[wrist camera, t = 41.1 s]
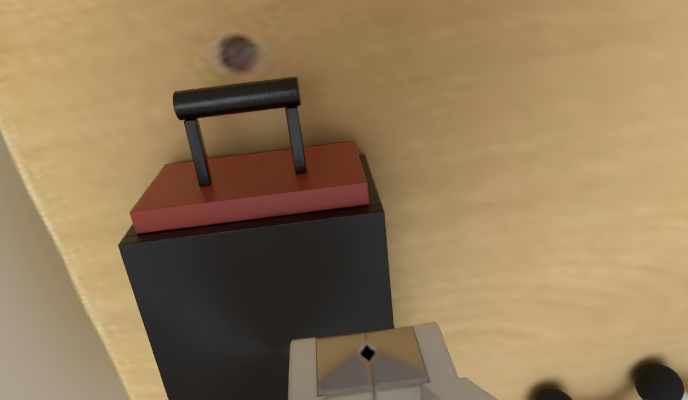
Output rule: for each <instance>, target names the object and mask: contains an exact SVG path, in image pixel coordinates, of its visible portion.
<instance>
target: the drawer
mask: <svg viewBox="0 0 688 400" xmlns="http://www.w3.org/2000/svg"><path fill="white" fill-rule="evenodd" d="M173 105H174V110H175V113H176V116H177V117H178V119H179V120H185V121H184V124H185V128H186V133H187V137H188V141H189V145H190V149H191V153H192V158H193V161H189V162H181V163H173V164H166V165H165V166H164V167H163V168H162V170H161V171H160V172H159V174H158V175H157V176H156V178H155V179H154V180H153V182H152V183H151V185H150V186H149V187H148V189H147V190H146V191H145V193H144V194H143V195H142V197H141V198H140V199H139V201H138V202H137V203H136V205H135V206H134V207H133V209H132V210H131V211H130V215H131V218H132V221H133V225H134V228H135V231H136V234H141V233H149V232H157V231H165V230H171V231H179V230H187V229H195V228H198V226H204V225H212V224H220V223H228V222H236V221H244V220H251V219H259V218H267V217H275V216H283V215H291V214H299V213H307V212H314V211H322V210H330V209H332V211H337V210H344V209H352V208H353V207H354V206H362V205H369V195H368V185H367V180H366V177H365V174H364V170H363V167H362V164H361V160H360V157H359V154H358V151H357V147H356V144H355V141H350V142H342V143H334V144H326V145H318V146H310V147H304V146H303V139H302V132H301V125H300V118H299V111H298V106H300V105H301V96H300V88H299V82H298V78H297V77H289V78H281V79H273V80H265V81H256V82H248V83H240V84H232V85H223V86H215V87H207V88H199V89H190V90H182V91H176V92H174V94H173ZM285 107H286V109H285V110H286V116H287V123H288V129H289V136H290V142H291V148H292V149H286V150H278V151H270V152H262V153H254V154H246V155H238V156H230V157H221V158H213V159H207V156H206V151H205V147H204V143H203V138H202V134H201V129H200V125H199V121H198V118H204V117H212V116H220V115H228V114H236V113H244V112H252V111H261V110H269V109H277V108H285Z"/></svg>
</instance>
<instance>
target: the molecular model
mask: <svg viewBox="0 0 688 400" xmlns="http://www.w3.org/2000/svg"><path fill="white" fill-rule="evenodd" d="M635 386H636V390H637V392H638V394H639V396H640V397H641V398H642V399H643V400H688V392H685V391H684V385H683V382H682V380H681V378H680V377H679V376H678V374H677V373H676V372H674V371H673V370H672V369H670V368H669V367H666V366H664V365H659V364H652V365H647V366H645V367H643V368H642V369H641V370H640V371H639V372H638V373H637V375H636V379H635ZM535 400H572V399H571V398H570V397H569V396H568V395H567V394H565V393H564V392H562V391H559V390H555V389H549V390H545V391H542V392H541V393H539V394H538V395H537V397H536V398H535Z"/></svg>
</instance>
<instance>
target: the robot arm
mask: <svg viewBox="0 0 688 400" xmlns="http://www.w3.org/2000/svg"><path fill="white" fill-rule="evenodd" d="M288 400H498V399H496V398H495V397H493V396H492V395H490V394H489V393H487V392H486V391H485V390H483V389H482V388H480V387H479V386H477V385H476V384H474V383H473V382H472V381H470V380H469V379H467V378H458V375H457V373H456V370H455V367H454V365H453V362H452V360H451V357H450V354H449V352H448V349H447V346H446V344H445V341H444V338H443V336H442V333H441V331H440V328H439V325H438V324H437V323H436V322H432V323H425V324H418V325H412V327H411V326H409V327H401V328H393V329H386V330H378V331H371V332H361V333H351V334H341V335H331V336H322V337H317V339H316V338H306V339H296V340H292V341H291V344H290V362H289V388H288Z"/></svg>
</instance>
